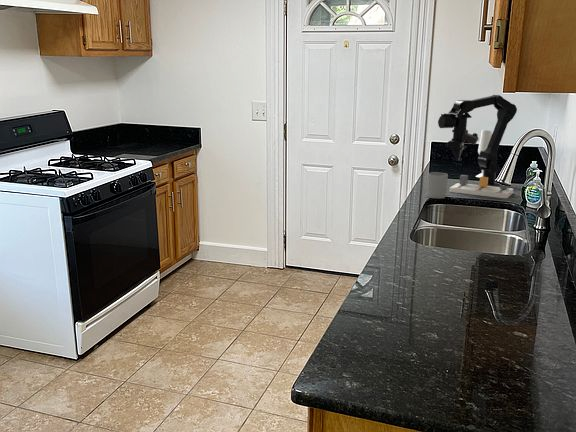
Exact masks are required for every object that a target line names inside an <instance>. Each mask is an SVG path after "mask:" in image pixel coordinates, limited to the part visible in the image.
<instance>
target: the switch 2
mask: <svg viewBox="0 0 576 432" xmlns="http://www.w3.org/2000/svg"><path fill="white" fill-rule="evenodd" d="M499 187H500V189H508V188H509V185H508V186H503V185H500V184H499Z"/></svg>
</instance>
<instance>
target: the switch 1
mask: <svg viewBox="0 0 576 432" xmlns="http://www.w3.org/2000/svg"><path fill="white" fill-rule="evenodd" d="M458 183H459V184H462V185H467V184H469V175H468V174H461V175H459V182H458Z"/></svg>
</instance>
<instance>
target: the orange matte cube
mask: <svg viewBox="0 0 576 432" xmlns="http://www.w3.org/2000/svg"><path fill="white" fill-rule="evenodd" d="M478 182H479V184H478V185H479V186H481V187H487V186H489V184H488V177H479V181H478Z"/></svg>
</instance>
